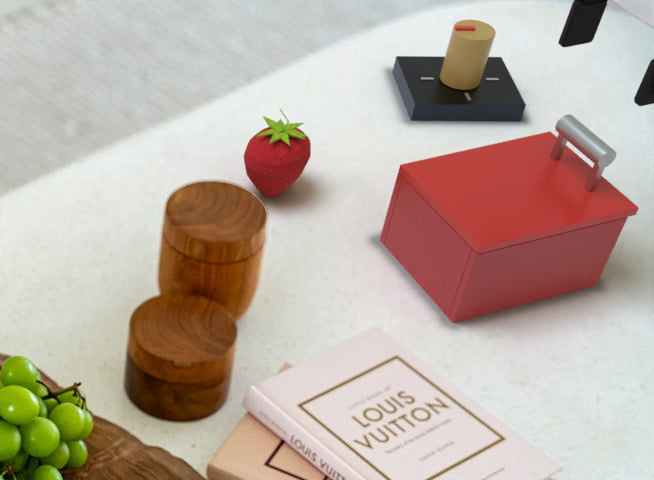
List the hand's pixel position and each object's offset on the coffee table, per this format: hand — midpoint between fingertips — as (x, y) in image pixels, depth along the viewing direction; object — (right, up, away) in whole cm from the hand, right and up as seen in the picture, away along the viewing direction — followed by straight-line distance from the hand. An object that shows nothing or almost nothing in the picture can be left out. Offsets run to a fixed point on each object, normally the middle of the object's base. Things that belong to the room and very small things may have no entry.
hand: (611, 71), depth 96 cm
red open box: (-6, -15, +13) cm, 21 cm away
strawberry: (-25, -7, +21) cm, 33 cm away
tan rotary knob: (-2, +8, +31) cm, 32 cm away
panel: (-2, +6, +33) cm, 34 cm away
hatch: (-5, -9, +7) cm, 12 cm away
